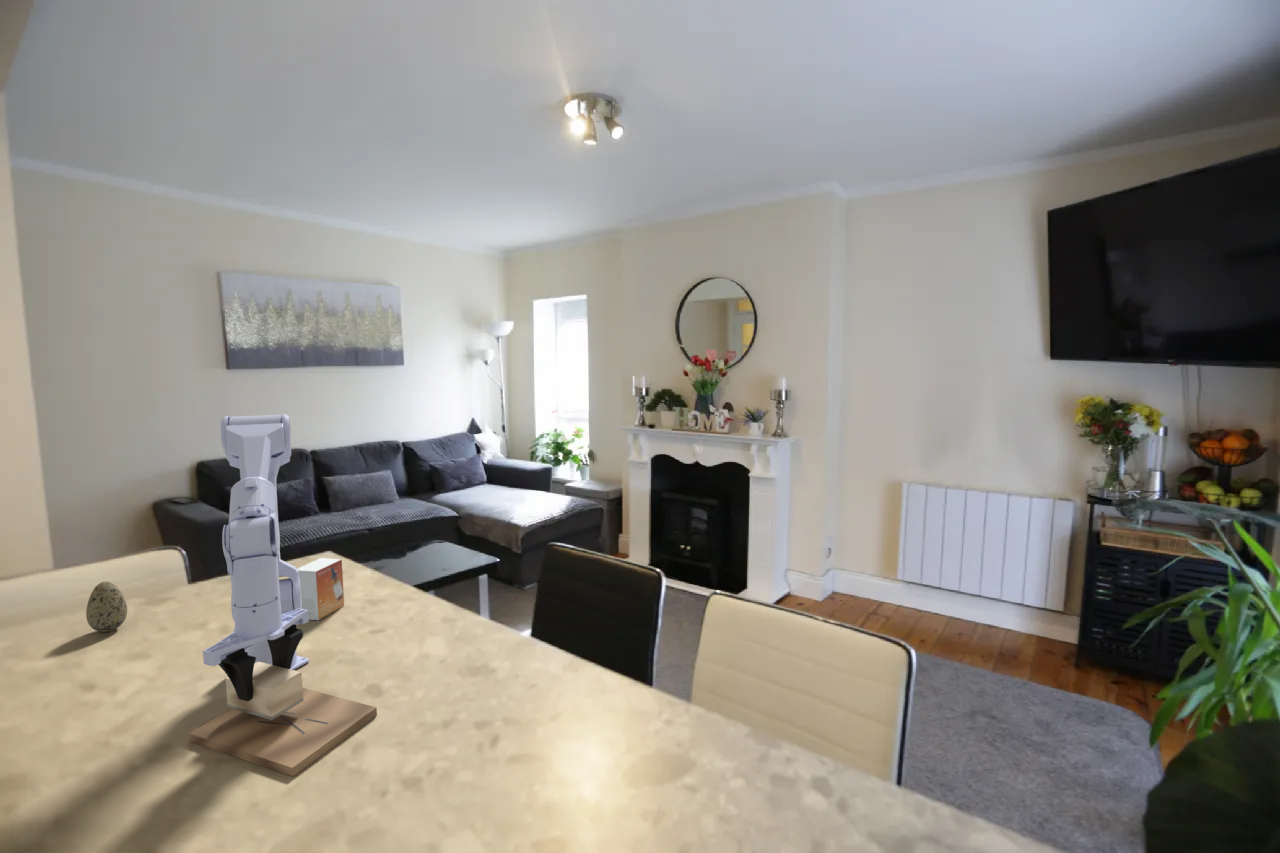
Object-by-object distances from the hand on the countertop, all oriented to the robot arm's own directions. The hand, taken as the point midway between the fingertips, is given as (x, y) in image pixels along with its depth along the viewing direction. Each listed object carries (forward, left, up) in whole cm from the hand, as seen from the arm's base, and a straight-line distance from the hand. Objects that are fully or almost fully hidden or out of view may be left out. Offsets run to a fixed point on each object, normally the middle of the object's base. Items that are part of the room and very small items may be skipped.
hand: (264, 688), depth 86 cm
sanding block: (0, 0, -2) cm, 2 cm away
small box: (-25, +31, -6) cm, 40 cm away
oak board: (+4, 0, -5) cm, 7 cm away
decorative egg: (-57, +10, -5) cm, 58 cm away
